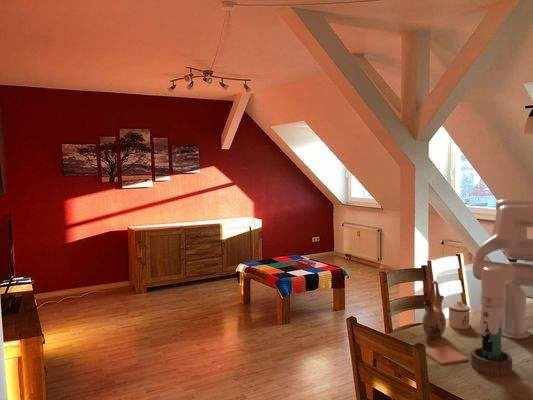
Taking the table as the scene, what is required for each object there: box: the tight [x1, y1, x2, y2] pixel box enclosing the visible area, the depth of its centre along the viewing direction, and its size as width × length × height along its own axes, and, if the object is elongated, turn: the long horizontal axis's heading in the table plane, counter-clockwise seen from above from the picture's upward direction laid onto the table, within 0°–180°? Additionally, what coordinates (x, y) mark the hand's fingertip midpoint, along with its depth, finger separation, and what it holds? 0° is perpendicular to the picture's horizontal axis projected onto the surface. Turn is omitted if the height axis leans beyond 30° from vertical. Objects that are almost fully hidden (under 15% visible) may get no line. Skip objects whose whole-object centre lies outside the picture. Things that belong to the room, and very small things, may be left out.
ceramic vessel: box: [421, 280, 447, 340], centre depth 186 cm, size 16×9×25 cm, turn 138°
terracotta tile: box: [425, 345, 469, 366], centre depth 169 cm, size 12×12×1 cm
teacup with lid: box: [448, 300, 471, 330], centre depth 200 cm, size 12×9×12 cm
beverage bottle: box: [481, 327, 503, 362], centre depth 158 cm, size 6×7×20 cm
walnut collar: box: [470, 346, 513, 378], centre depth 158 cm, size 13×13×5 cm
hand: (491, 347), depth 158 cm, fingers closed on beverage bottle, 6 cm apart
